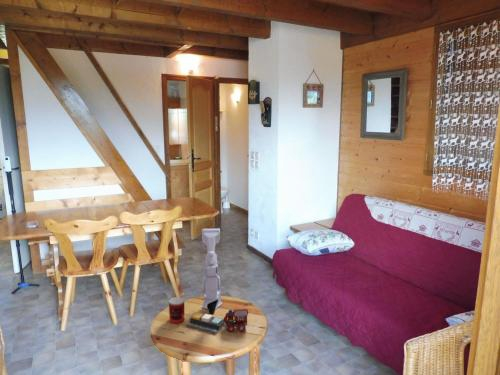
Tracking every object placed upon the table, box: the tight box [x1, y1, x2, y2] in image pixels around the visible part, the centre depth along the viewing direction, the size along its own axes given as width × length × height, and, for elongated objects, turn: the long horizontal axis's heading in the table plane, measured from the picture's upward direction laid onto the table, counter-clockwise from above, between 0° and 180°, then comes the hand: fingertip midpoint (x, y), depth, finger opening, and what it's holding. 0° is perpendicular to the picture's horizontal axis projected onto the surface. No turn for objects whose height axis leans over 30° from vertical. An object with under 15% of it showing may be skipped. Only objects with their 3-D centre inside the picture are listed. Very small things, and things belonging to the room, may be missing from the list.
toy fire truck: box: [222, 308, 249, 333], centre depth 188 cm, size 7×12×10 cm, turn 96°
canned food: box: [168, 296, 186, 325], centre depth 195 cm, size 8×8×11 cm
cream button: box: [202, 313, 213, 323], centre depth 192 cm, size 4×4×2 cm
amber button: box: [191, 312, 204, 320], centre depth 194 cm, size 4×4×2 cm
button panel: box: [185, 312, 224, 335], centre depth 192 cm, size 12×17×3 cm
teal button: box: [211, 317, 223, 325], centre depth 190 cm, size 4×4×2 cm
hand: (211, 313), depth 191 cm, fingers closed
